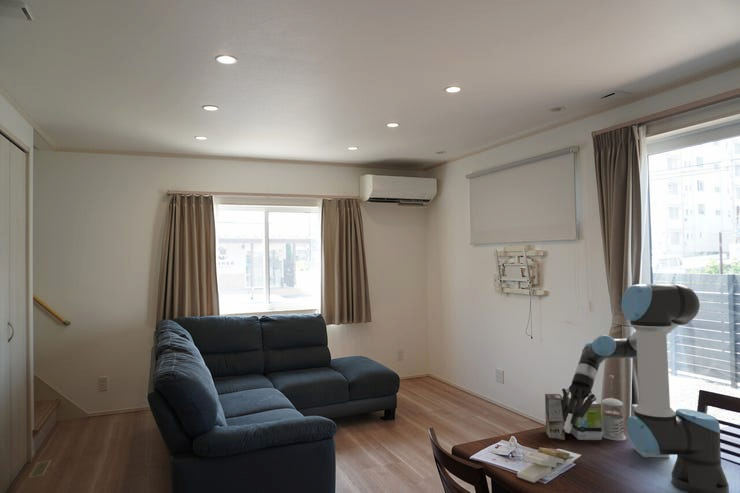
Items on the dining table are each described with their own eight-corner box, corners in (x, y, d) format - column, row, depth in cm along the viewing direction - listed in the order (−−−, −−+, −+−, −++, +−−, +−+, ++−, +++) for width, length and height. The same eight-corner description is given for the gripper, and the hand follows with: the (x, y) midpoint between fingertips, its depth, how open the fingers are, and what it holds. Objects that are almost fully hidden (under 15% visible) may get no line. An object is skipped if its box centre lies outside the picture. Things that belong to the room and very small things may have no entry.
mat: (558, 450, 184) (558, 448, 184) (581, 456, 178) (581, 454, 178) (525, 470, 167) (525, 468, 167) (550, 478, 161) (549, 476, 161)
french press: (594, 434, 201) (592, 373, 202) (613, 429, 206) (612, 370, 206) (615, 442, 192) (613, 378, 193) (634, 437, 197) (633, 375, 198)
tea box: (602, 440, 194) (601, 403, 194) (577, 440, 194) (576, 403, 195) (586, 427, 209) (586, 393, 209) (563, 427, 209) (562, 393, 210)
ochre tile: (553, 448, 180) (538, 447, 172) (569, 453, 176) (554, 452, 168) (553, 453, 180) (538, 452, 172) (569, 458, 175) (554, 457, 168)
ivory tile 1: (547, 454, 175) (532, 451, 168) (563, 458, 171) (548, 455, 164) (546, 458, 175) (531, 455, 167) (562, 463, 171) (547, 460, 163)
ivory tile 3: (534, 461, 169) (517, 472, 161) (551, 466, 165) (534, 477, 156) (534, 466, 169) (517, 476, 161) (551, 471, 165) (534, 482, 156)
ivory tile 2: (540, 457, 172) (524, 454, 164) (556, 462, 168) (541, 459, 160) (539, 462, 172) (524, 459, 164) (556, 467, 167) (540, 464, 160)
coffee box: (565, 440, 195) (564, 399, 195) (548, 439, 196) (548, 399, 196) (561, 432, 203) (560, 393, 204) (545, 431, 205) (544, 393, 205)
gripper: (603, 386, 189) (587, 440, 177) (571, 380, 199) (553, 431, 187) (598, 375, 186) (580, 429, 174) (565, 370, 195) (546, 421, 183)
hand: (566, 430), depth 180 cm, fingers closed
